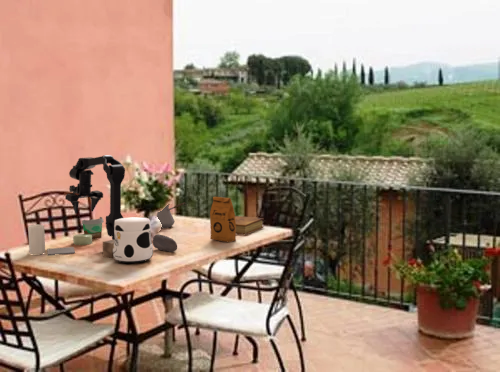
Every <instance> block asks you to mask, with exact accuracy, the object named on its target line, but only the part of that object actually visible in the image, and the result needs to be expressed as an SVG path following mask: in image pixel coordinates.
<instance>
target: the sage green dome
mask: <svg viewBox="0 0 500 372" xmlns="http://www.w3.org/2000/svg"><path fill="white" fill-rule="evenodd" d="M72 238H73V239H72V241H73V245H74V244H75V246H87V244H88V245H91V244H93V239H92V235H91V234H84V233H78V234H74V235H73V236H72Z"/></svg>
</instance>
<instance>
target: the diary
mask: <svg viewBox="0 0 500 372" xmlns="http://www.w3.org/2000/svg"><path fill="white" fill-rule="evenodd" d="M263 221H264V217H253V216H243V215H242V216H239V215H235V222H236V235H244V234H245V235H248V234H251V233H253V232H255V230H256V231H258V230H260V229H263V228H265V226H264V225H263Z"/></svg>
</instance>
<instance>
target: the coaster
mask: <svg viewBox="0 0 500 372" xmlns="http://www.w3.org/2000/svg"><path fill="white" fill-rule="evenodd" d="M46 251H47V256H56V255H55V254H62V255H73V254H74V253H75V254H76V250H75V247H74V246H68V247H67V246H66V247H53V248H47V250H46Z"/></svg>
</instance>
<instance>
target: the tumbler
mask: <svg viewBox="0 0 500 372" xmlns="http://www.w3.org/2000/svg"><path fill="white" fill-rule="evenodd" d="M27 230H28V232H27V233H28V249H29V250H28V251H29V254H42V255H44V254H45V253H46V241H45V240H46V239H45V236H46V235H45V225H44V224H30V225H28V226H27ZM43 253H44V254H43Z"/></svg>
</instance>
